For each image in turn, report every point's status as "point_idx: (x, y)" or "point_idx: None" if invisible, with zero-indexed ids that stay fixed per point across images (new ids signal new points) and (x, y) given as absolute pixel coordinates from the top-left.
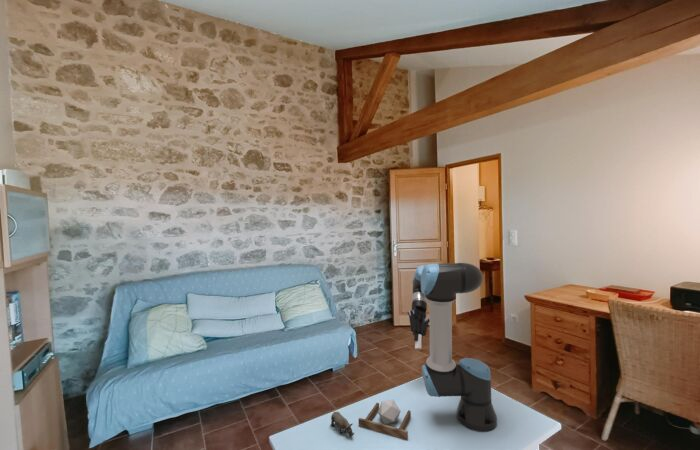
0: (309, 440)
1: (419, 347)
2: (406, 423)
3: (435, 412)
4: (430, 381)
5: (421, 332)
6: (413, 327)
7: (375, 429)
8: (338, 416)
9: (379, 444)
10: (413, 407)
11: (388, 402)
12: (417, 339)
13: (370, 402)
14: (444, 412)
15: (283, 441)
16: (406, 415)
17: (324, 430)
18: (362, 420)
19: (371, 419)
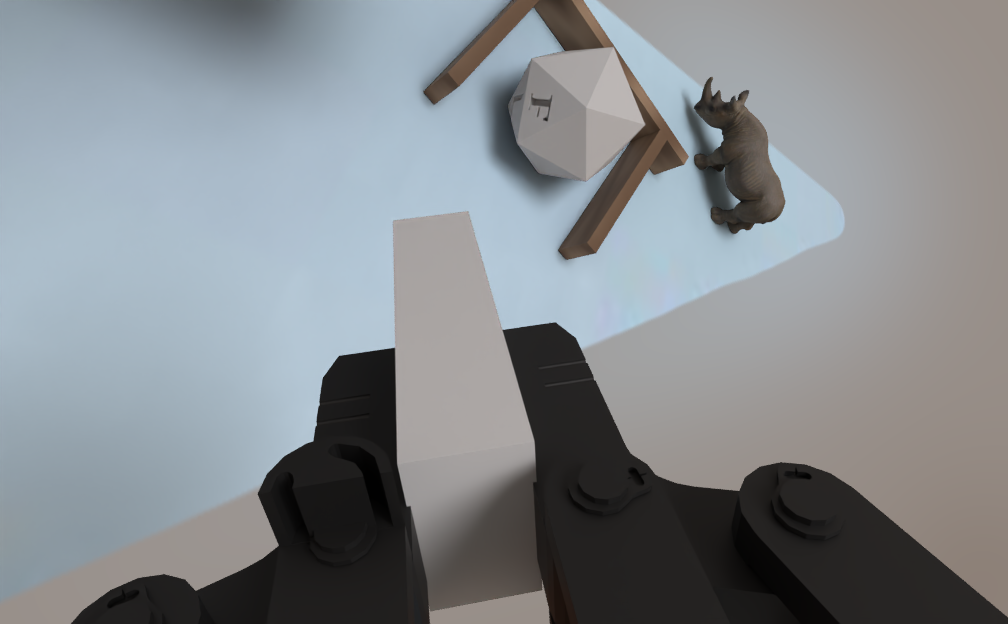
0: (786, 177)
1: (451, 213)
2: (484, 31)
3: (224, 47)
4: None
5: (394, 586)
6: (936, 603)
7: None
8: (772, 168)
9: (612, 13)
10: (360, 182)
11: (616, 94)
12: (526, 343)
13: (581, 341)
14: (144, 4)
15: (833, 210)
16: (487, 46)
17: None
18: (676, 138)
19: (616, 171)
